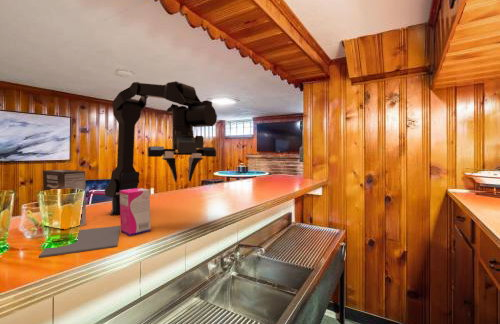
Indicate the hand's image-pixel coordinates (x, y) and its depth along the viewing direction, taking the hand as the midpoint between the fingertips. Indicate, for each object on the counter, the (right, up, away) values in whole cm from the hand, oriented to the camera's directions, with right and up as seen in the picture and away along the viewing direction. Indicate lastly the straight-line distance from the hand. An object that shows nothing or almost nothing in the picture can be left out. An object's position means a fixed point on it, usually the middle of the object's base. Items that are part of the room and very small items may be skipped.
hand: (182, 181), depth 71 cm
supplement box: (-11, -13, -5) cm, 18 cm away
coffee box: (-34, -13, 0) cm, 37 cm away
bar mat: (-20, -13, -11) cm, 27 cm away
